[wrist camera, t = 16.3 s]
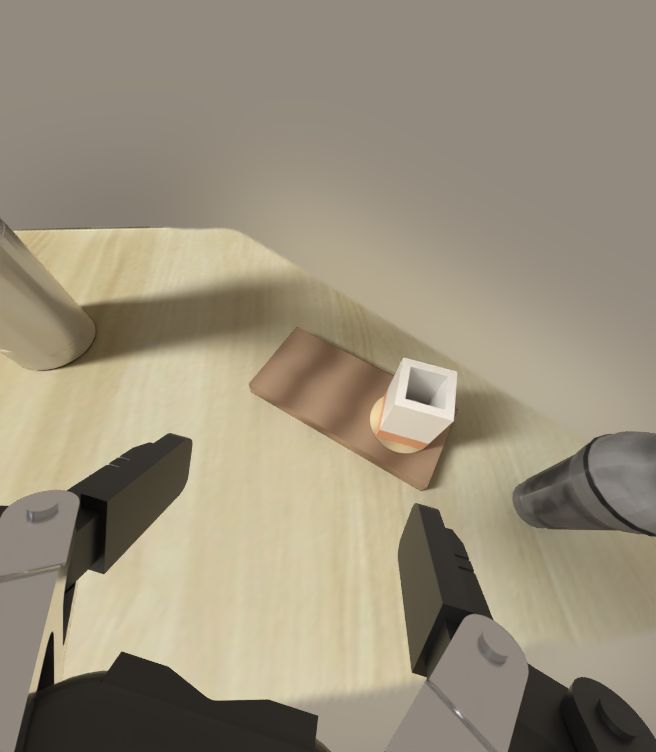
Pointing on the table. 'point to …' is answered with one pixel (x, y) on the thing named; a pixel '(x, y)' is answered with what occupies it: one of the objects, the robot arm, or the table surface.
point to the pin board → (342, 403)
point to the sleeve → (417, 404)
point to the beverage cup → (596, 488)
